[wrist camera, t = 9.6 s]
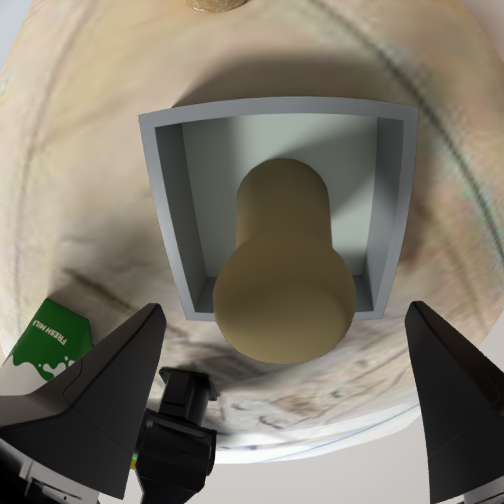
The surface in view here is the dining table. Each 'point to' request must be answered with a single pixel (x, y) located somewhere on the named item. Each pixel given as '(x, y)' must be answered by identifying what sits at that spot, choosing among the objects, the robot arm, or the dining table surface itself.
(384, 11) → the dining table surface
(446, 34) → the dining table surface
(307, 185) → the cork
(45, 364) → the milk carton
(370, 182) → the box
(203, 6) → the sprinkles bottle
